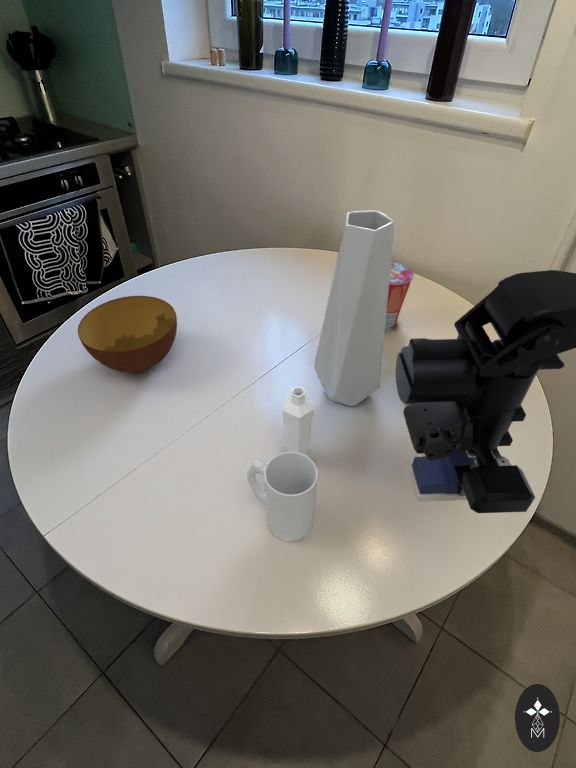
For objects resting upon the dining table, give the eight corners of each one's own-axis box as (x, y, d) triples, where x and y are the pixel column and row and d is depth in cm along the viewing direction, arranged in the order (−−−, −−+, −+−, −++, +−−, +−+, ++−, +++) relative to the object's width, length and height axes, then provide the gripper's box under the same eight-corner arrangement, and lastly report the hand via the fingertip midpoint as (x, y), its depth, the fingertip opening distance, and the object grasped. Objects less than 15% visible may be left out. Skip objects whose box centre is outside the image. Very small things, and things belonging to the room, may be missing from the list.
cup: (380, 305, 105) (387, 258, 97) (411, 320, 101) (422, 272, 92) (355, 322, 100) (360, 274, 92) (386, 339, 96) (395, 290, 88)
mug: (322, 513, 66) (326, 463, 58) (301, 552, 62) (303, 504, 53) (262, 485, 69) (259, 435, 61) (239, 520, 65) (231, 471, 57)
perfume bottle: (316, 453, 74) (321, 387, 64) (302, 472, 71) (305, 406, 61) (292, 442, 76) (293, 375, 65) (278, 459, 73) (276, 394, 63)
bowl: (81, 394, 84) (63, 352, 77) (107, 336, 97) (94, 295, 90) (176, 392, 84) (166, 351, 77) (190, 335, 97) (182, 295, 90)
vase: (394, 401, 82) (434, 227, 60) (340, 423, 79) (360, 246, 56) (357, 362, 90) (380, 195, 68) (306, 380, 86) (312, 210, 64)
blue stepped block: (488, 466, 61) (499, 444, 58) (502, 498, 58) (515, 476, 54) (407, 469, 61) (414, 447, 58) (416, 501, 57) (424, 479, 54)
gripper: (399, 339, 54) (381, 425, 65) (443, 467, 41) (411, 548, 52) (490, 337, 55) (457, 423, 65) (564, 463, 41) (507, 545, 52)
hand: (456, 478), depth 59 cm, fingers closed on blue stepped block, 4 cm apart
